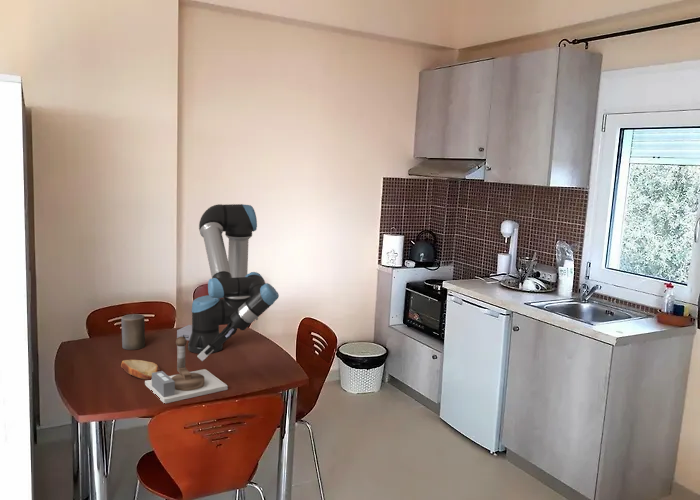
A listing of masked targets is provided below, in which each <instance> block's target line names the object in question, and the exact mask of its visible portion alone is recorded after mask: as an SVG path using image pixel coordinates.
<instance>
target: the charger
mask: <svg viewBox="0 0 700 500" xmlns="http://www.w3.org/2000/svg"><path fill="white" fill-rule="evenodd" d="M191 334H192V324H187V325H186V326H183V327H181V328H179V329H177V330H176V339H177V338H178V337H184V338H186V340H187V341H189V340H190V337H191Z"/></svg>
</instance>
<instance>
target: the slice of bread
mask: <svg viewBox="0 0 700 500" xmlns="http://www.w3.org/2000/svg"><path fill="white" fill-rule="evenodd" d="M120 367H121V369H122V368H123V369H124V370H123V369H122V370H123V371H125V372H126V373H127V375H129V376H131V375H132V376H131V377H134V378H137V379H140V380H144V379H151V380H152V373H154V372H160V371H161V369H160V367H159V365H158V364H157V363H155V362H152V361H147V360H141V359H124V360H122V361H121V365H120Z"/></svg>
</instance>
